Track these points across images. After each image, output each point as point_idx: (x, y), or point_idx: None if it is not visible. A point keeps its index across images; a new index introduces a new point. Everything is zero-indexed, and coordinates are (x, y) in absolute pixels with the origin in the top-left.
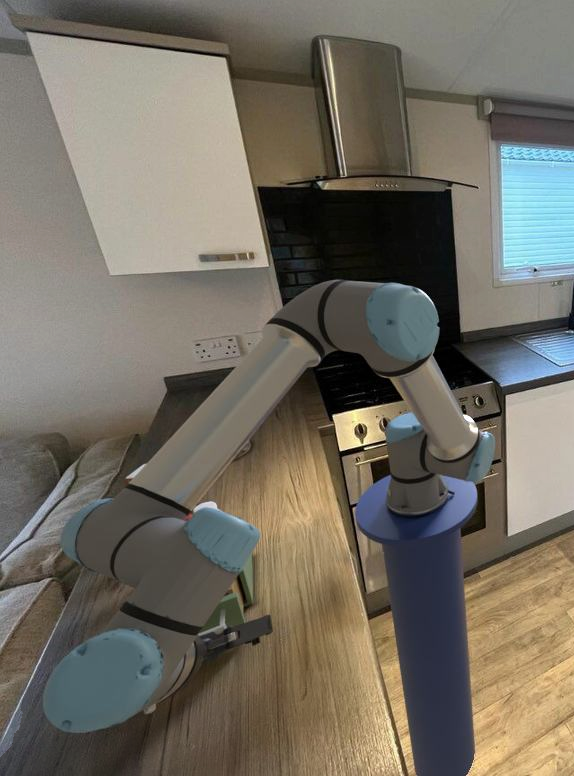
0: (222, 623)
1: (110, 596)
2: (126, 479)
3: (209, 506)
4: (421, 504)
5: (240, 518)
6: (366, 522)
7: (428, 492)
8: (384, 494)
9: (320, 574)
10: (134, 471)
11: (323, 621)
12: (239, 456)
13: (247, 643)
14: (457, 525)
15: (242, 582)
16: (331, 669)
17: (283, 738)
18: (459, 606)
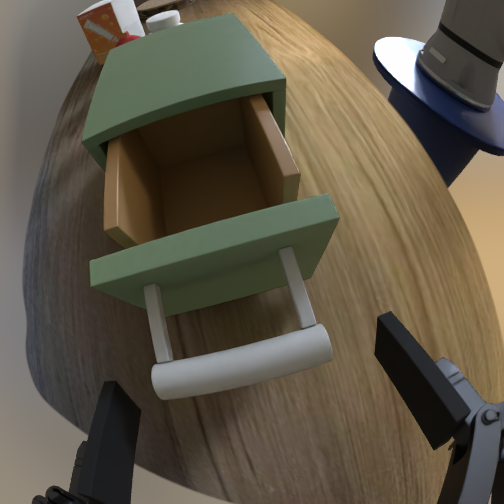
0: (310, 319)
1: (68, 144)
2: (78, 16)
3: (168, 14)
4: (485, 95)
5: (233, 14)
6: (411, 85)
7: (494, 84)
8: (406, 56)
9: (391, 154)
10: (86, 9)
11: (441, 272)
12: (187, 5)
13: (438, 447)
14: None
15: None
16: None
17: (411, 488)
18: None
